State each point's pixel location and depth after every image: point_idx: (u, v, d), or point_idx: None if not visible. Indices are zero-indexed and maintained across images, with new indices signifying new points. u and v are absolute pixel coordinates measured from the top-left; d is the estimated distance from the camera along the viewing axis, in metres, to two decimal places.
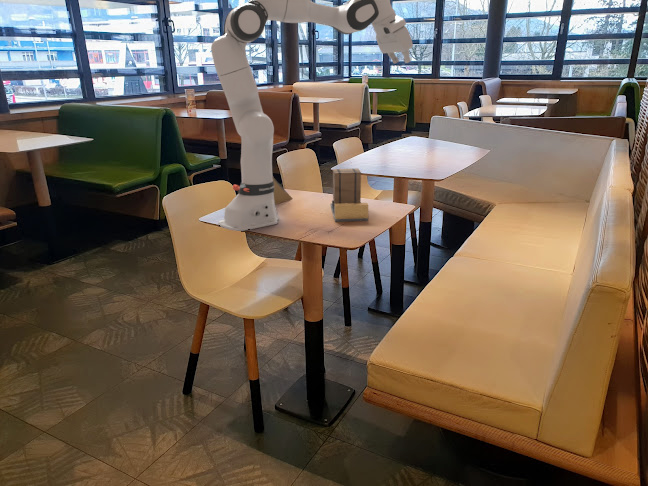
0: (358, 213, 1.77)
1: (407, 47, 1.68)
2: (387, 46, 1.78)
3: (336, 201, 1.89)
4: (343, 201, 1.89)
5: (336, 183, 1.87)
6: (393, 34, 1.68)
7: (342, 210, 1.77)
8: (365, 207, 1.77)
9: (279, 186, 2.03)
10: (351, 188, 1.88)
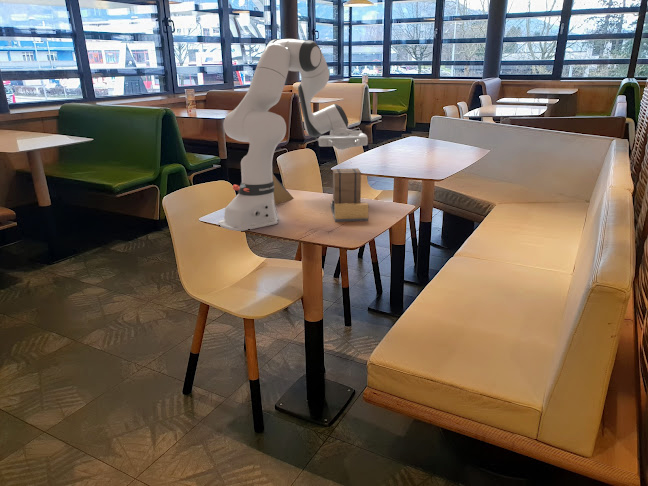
0: (358, 213, 1.77)
1: (367, 139, 2.01)
2: (338, 136, 2.02)
3: (336, 201, 1.89)
4: (343, 201, 1.89)
5: (336, 183, 1.87)
6: (361, 132, 2.06)
7: (342, 210, 1.77)
8: (365, 207, 1.77)
9: (281, 186, 2.03)
10: (351, 188, 1.88)
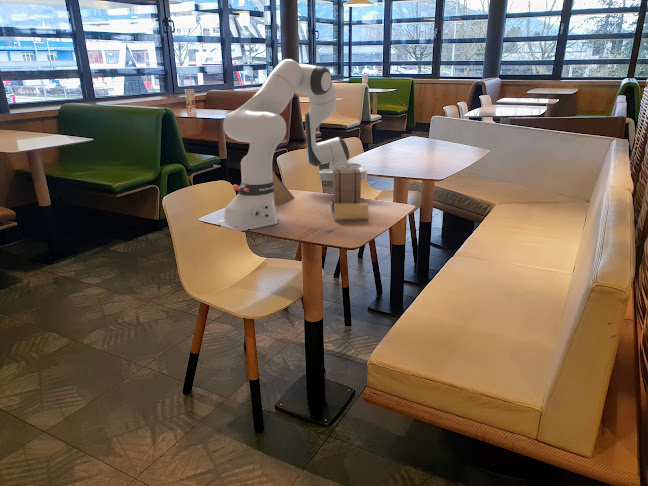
0: (358, 213, 1.77)
1: (366, 173, 2.07)
2: None
3: (336, 201, 1.89)
4: (343, 201, 1.89)
5: (336, 183, 1.87)
6: (360, 166, 2.11)
7: (342, 210, 1.77)
8: (365, 207, 1.77)
9: (282, 186, 2.04)
10: (351, 188, 1.88)
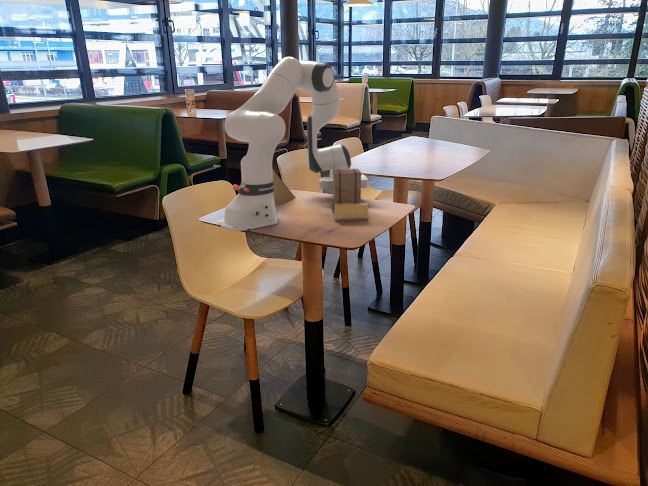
0: (358, 213, 1.77)
1: None
2: None
3: (336, 201, 1.89)
4: (343, 202, 1.89)
5: (336, 183, 1.87)
6: (361, 174, 2.06)
7: (342, 210, 1.77)
8: (365, 207, 1.77)
9: (284, 185, 2.04)
10: (351, 189, 1.88)
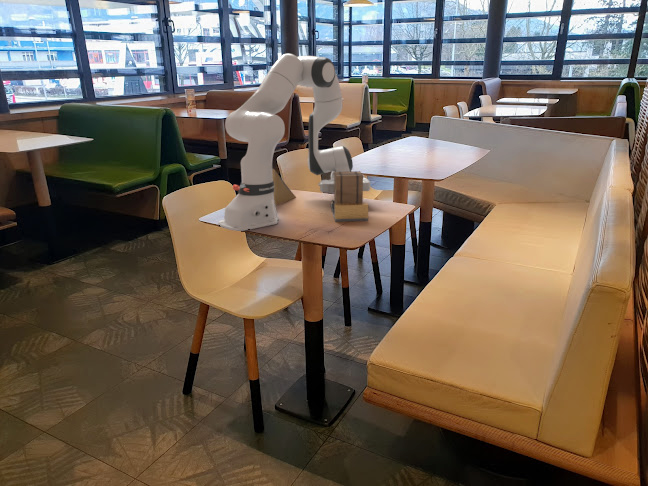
0: (358, 213, 1.77)
1: None
2: None
3: None
4: None
5: (337, 186, 1.82)
6: (363, 177, 2.01)
7: (342, 210, 1.77)
8: (365, 207, 1.77)
9: (284, 185, 2.04)
10: (353, 192, 1.83)
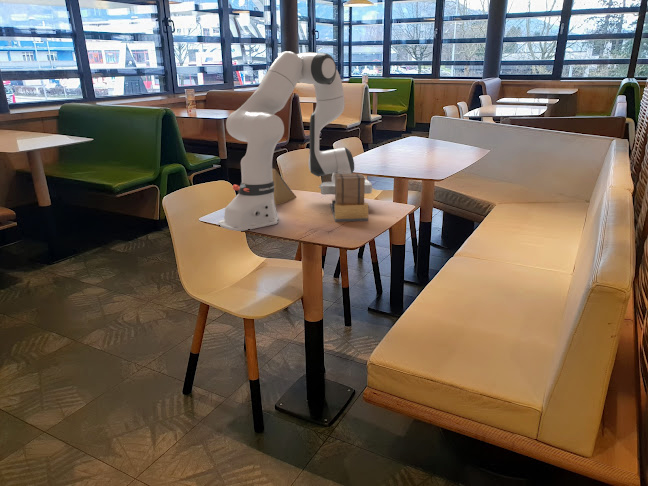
0: (358, 213, 1.77)
1: (371, 187, 1.92)
2: None
3: None
4: None
5: (338, 189, 1.77)
6: None
7: (342, 210, 1.77)
8: (365, 207, 1.77)
9: (285, 185, 2.05)
10: (355, 195, 1.79)
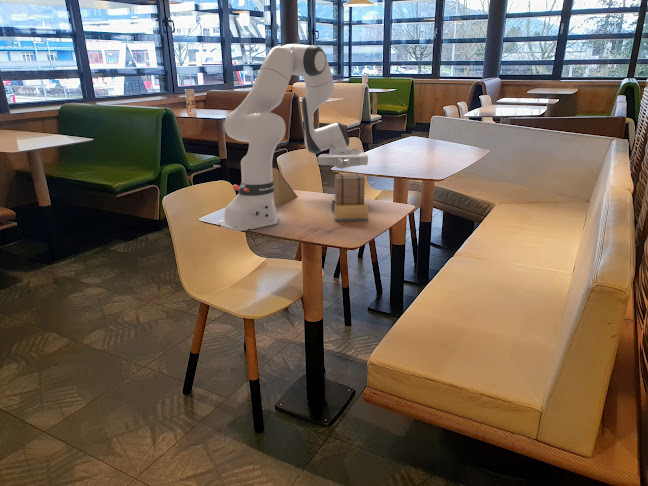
0: (358, 213, 1.77)
1: (367, 159, 1.99)
2: (338, 155, 2.00)
3: None
4: None
5: (338, 189, 1.77)
6: (361, 152, 2.04)
7: (342, 210, 1.77)
8: (365, 207, 1.77)
9: (287, 185, 2.05)
10: (355, 195, 1.79)
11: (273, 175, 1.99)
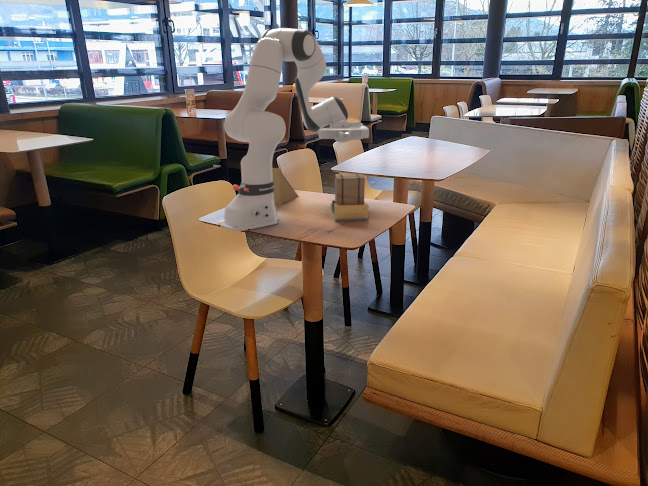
0: (358, 213, 1.77)
1: (368, 131, 1.96)
2: (338, 128, 1.96)
3: None
4: None
5: (338, 189, 1.77)
6: (362, 125, 2.01)
7: (342, 210, 1.77)
8: (365, 207, 1.77)
9: (288, 184, 2.06)
10: (355, 195, 1.79)
11: (275, 175, 1.99)
